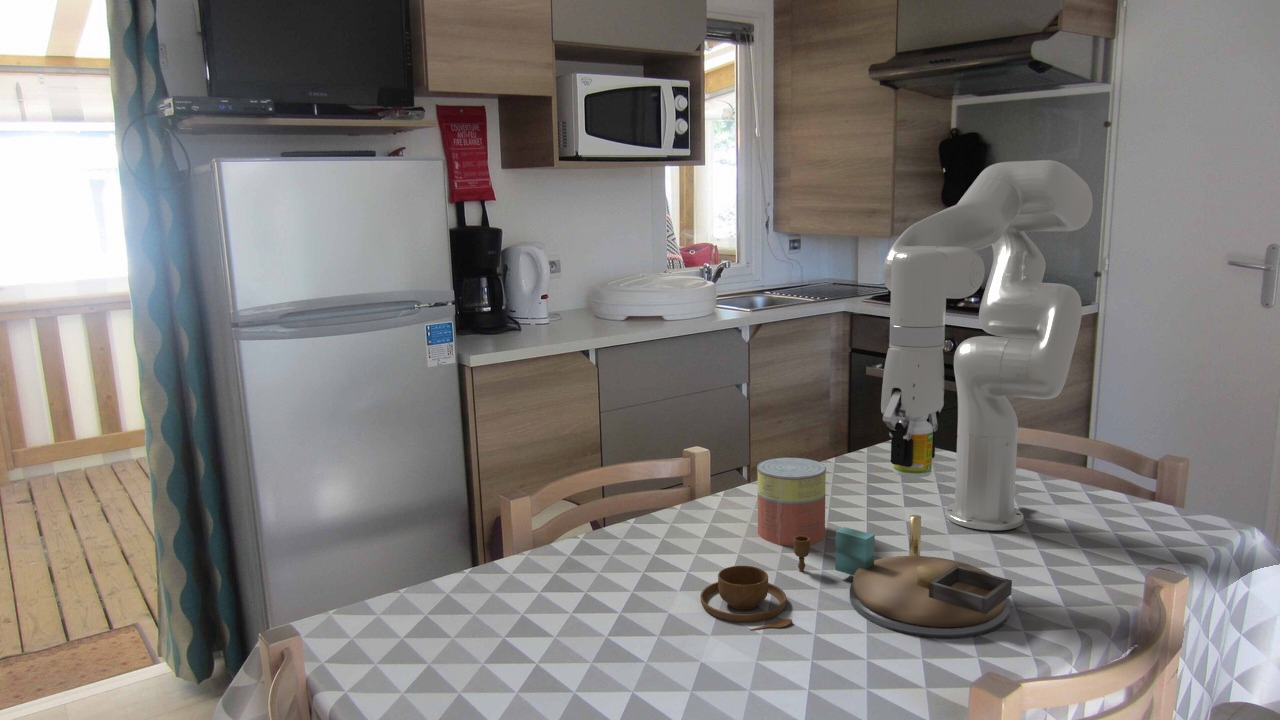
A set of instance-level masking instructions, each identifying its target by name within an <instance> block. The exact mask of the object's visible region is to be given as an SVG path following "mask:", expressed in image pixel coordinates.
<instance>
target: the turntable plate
mask: <svg viewBox="0 0 1280 720" xmlns="http://www.w3.org/2000/svg"><path fill="white" fill-rule="evenodd" d="M875 537H876V536H875V534H873V533H869V532H865V531H861V530H857V529H854V528H849V527H845V526H844V527H841V528H839V529H838V530H836V531H835V561H834V563H835V564H834V565H835V571H838V572H841V573H844V574H847V575H850V576H853V579H852V580H853V582H852V583H853V590H854V594H855V596H856V597H857V599H858V600H859V601H860V602H861V603H862V604H863V605H865V606H866V607H867V608H869V609H871V610H873V611H874V612H877V613H879V614H881V615H883V616H886V617H889V618H892V619H895V620H898V621H902V622H907V623H911V624H917V625H923V626H933V627H963V626H971V625H976V624H981V623H984V622H987V621H990V620H992V619H994V618H996V617H997V616H999V615H1000V614H1001V613H1002V612H1003V610H1004V609H1005V605H1006V598H1007V599H1008V598H1009V597H1010V596H1011V595H1012V587H1013V586H1012V584H1013V579H1008V578H1005V577H1001V576H996V575H993V574H992V573H990V572H988V571H986V570H984V569H981V568H979V567H976V566H974V565H972V564H968V563H965V562H962V561H957V560H952V559H948V558H942V557H936V556H935V557H934V556H925V555H920V556H909V555H898V556H897V555H896V556H890V557H889V556H888V557H884V558H879V559H876V560H875Z"/></svg>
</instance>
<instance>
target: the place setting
mask: <svg viewBox="0 0 1280 720" xmlns="http://www.w3.org/2000/svg"><path fill="white" fill-rule="evenodd" d="M810 549H811V544H810V538H809V537H807V536H796V537H794V546H793V552H794V554H795V556H796V557H798V560H799V561H798V564H797V567H798V569H799V570H798V572H799V573H805V569H806V564H805V558H806V557H808V556H809V554H810V551H811V550H810ZM717 580H718V581H716V582H713V583H711V584H709V585H707V586H705V588H703V590H701V593H700V603H701V606H702V608H703V609H704V610H705V611H706V612H707V613H708V614H710V615H711V616H712V617H715V618H718V619H721V620H724V621H729V622H735V623H758V622H762V621H763V622H764V621H766V620H770V619H772V618H774V617H776V616H778V615H780V614H781V613H782V612H783V611H784V609H785V607H786V604H787V595H786V593H785V591H784V590H782V589H781V588H780V587H778V586H777V585H775V584H773V583H770V582H769V575H768V573H767V572H766V571H765V570H763V569H761V568H759V567H757V566H749V565H732V566H728V567H725V568H722V570H720V571H719V572H718V573H717ZM717 592H718V594H719V596H720V598H721V599H722V600H723V601H724V602H725V603H727V604H728V605H729V606H730V607H731V608H733V609H736V610H739V611H740V610H741V611H745V610H746V611H747V610H753V609H755V608H756V607H757V606H758V605H759V604H761V603H762V602H763V601H764V600H765V599H766V598H767V596H768V594H770V595H772V596H773V597H774V598H776V599H777V601H778V602H779V606H777V607H776V608H775V607H774V609H771V610H768V611H765V612H760V613H758V612H757V613H750V614H749V613H747V614H746V613H745V614H744V613H743V614H742V613H740V614H739V613H732V612H727V611H726V612H725V611H724V610H723V611H722V610H719V609H717V608H714V607H712V606H710V605H709V604H708V603H707V600H708V599H709V598H710V596H712V595H713V594H715V593H717ZM791 624H793V620H792V619H790V618H782V619H776V620H774V621H772V622H771V623H769V624H766V625H762V626H758V627H754V628H750V629H749V631H751V632H755V631H760V630H764V629H783V628H786V627H788V626H790V625H791Z"/></svg>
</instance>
